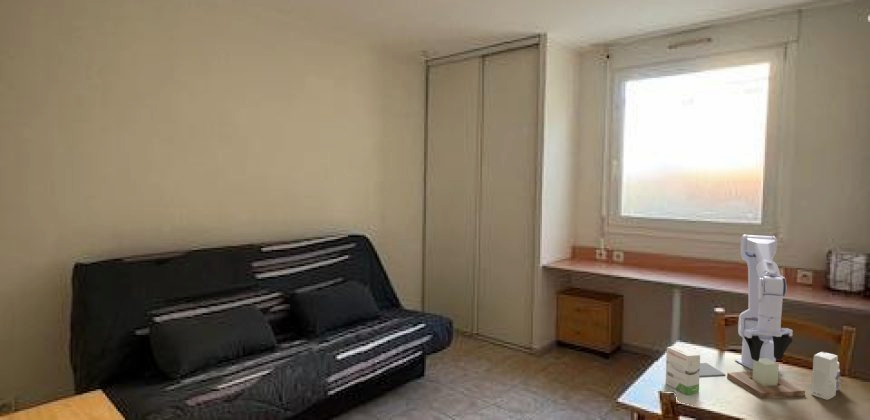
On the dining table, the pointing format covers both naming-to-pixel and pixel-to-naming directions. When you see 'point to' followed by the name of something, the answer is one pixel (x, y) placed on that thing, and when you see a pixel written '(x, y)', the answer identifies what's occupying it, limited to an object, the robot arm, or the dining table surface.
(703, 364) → the rubber pad
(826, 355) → the skincare box
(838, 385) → the pill bottle
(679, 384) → the ink box
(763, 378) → the sage block
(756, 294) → the robot arm
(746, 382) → the pocket block
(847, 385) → the dining table surface
